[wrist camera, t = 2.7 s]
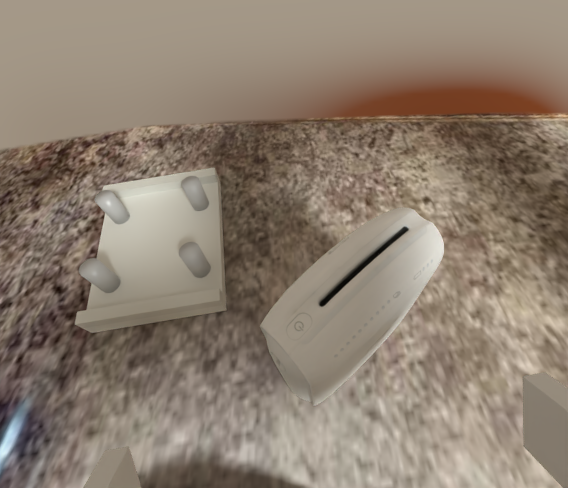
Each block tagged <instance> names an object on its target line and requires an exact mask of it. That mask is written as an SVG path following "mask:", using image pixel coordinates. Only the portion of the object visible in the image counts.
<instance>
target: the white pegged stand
mask: <svg viewBox="0 0 568 488" xmlns="http://www.w3.org/2000/svg"><path fill="white" fill-rule="evenodd" d="M95 202H96V203H97V204H98V205H99V206H100V208H101V209H102V210H103V211H104V212H105V217H104V222H103V227H102V232H101V238H100V243H99V248H98V253H97V258H90V259H88V260H86V261H84V262H83V263H82V264H81V266H80V268H79V274H80V275H81V276H83V277H84V278H85V279H87V280H88V281H89V282H91V283H92V284H91V289H90V294H89V299H88V304H87V310H85V311H79V312H77V316H76V320H75V325H77V326H79V327H81V328H83V329H85V330H87V331H89V332H91V333H95V332H101V331H107V330H113V329H119V328H125V327H131V326H137V325H143V324H149V323H155V322H161V321H167V320H173V319H179V318H185V317H191V316H197V315H203V314H209V313H215V312H221V311H227V307H226V286H225V265H224V245H223V224H222V203H221V183H220V180H219V177H218V175H217V172H216V169H215V167H214V168H208V169H202V170H196V171H190V172H184V173H178V174H172V175H166V176H160V177H154V178H148V179H142V180H136V181H130V182H124V183H118V184H112V185H106V186H104V187H103V191H101V192H99V193H98V194H97V195H96V197H95Z"/></svg>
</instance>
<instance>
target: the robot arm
mask: <svg viewBox="0 0 568 488" xmlns="http://www.w3.org/2000/svg"><path fill="white" fill-rule="evenodd" d="M523 438H524V447H525V448H526V449H527V450H528V451H529V452H530V453H531V455H532V456H533V457H534V458H535V459H536V460H537V461H538V462H539V463H540V464H541V465H542V466H543V467H544V468H545V469H546V470H547V471H548V472H549V473H550V474H551V475H552V476H553V478H554V479H555V480H556V481H557V482H558V483H559V484H560V485H561V486H562V487H563V488H568V388H567V387H566V386H564V385H563V384H561V383H560V382H558V381H557V380H556V379H554V378H553V377H551V376H550V375H548V374H547V373H545V372H544V373H539V374H533V375H527V376H523ZM83 488H141V485H140V482H139V478H138V475H137V472H136V469H135V465H134V462H133V459H132V455H131V452H130V449H129V447H123V448H118V449H112V450H106V451H105V452H104V454H103V455H102V457H101V459H100V460H99V462H98V464H97V465H96V467H95V469H94V471H93V472H92V474H91V476H90V477H89V479H88V481H87V482H86V484H85V486H84V487H83Z"/></svg>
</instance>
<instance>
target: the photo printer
mask: <svg viewBox="0 0 568 488" xmlns="http://www.w3.org/2000/svg"><path fill="white" fill-rule="evenodd" d="M443 254H444V243H443V240H442V237H441V235H440V233H439V231H438V229H437V228H436V227H435V225H434V224H433V223H432V222H430V221H428V220H425V219H424V218H422V217H421V216H420V215H418V214H417V212H416V211H415V210H413V209H410V208H396V209H393V210H390V211H388V212H385V213H383V214H381V215H379V216H377V217H375V218H373V219H372V220H370V221H368V222H366V223H365V224H363V225H362V226H360V227H359V228H357V229H356V230H355V231H353V232H352V233H350V234H349V235H348V236H346V237H345V238H344V239H342V240H341V241H340V242H339V243H337V244H336V245H335V246H334V247H333V248H331V249H330V250H329V251H328V252H327V253H325V254H324V255H323V256H322V257H321V258H319V259H318V260H317V261H316V262H315V263H314V264H313V265H312V266H310V268H308V269H307V270H306V271H305V272H304V273H303V274H302V275H301V276H300V277H299V278H298V279H297V280H296V281H295V282H294V283H293V284H292V285H291V286H290V287H289V288H288V289H287V290H286V291H285V292H284V293H283V295H282V296H281V297H280V298H279V300H278V301H277V302H276V303H275V304H274V306H273V307H272V308H271V310H270V311H269V312H268V314H267V315H266V317H265V318H264V320H263V322H262V323H261V325H260V329H261V330H262V332H263V334H264V336H265V338H266V340H267V346H268V350H269V353H270V355H271V357H272V359H273V361H274V363H275V365H276V366H277V368H278V370H279V372H280V373H281V375H282V377H283V378H284V380H285V382H286V383H287V385H288V387H289V388H290V390H291V391H292V392H293V393H294V394H295V395H296V396H297V397H299V398H301V399H303V400H305V401H310V402H311V403H312V404H313V405H314V406H315V405H317V404H319V403H321V402H322V401H324V400H325V399H327V398H328V397H329V396H330V395H332V394H333V393H334V392H335V391H336V390H337V389H338V388H339V387H340V386H341V385H342V384H343V383H344V382H345V381H346V380H348V379H349V378H350V377H351V376H352V375H353V374H354V373H355V372H356V371H357V370H358V369H359V368H360V367H361V366H362V365H363V364H364V363H365V362H366V361H367V359H368V358H369V357H370V356H371V355H372V354H373V353H374V352H375V351H376V350H377V349H378V348H379V347H380V346H381V345H382V343H383V342H384V341H385V340H386V339H387V338H388V337H389V336H390V334H391V333H392V332H393V331H394V330H395V329H396V328H397V326H398V325H399V324H400V322H401V321H402V320H403V318H404V317H405V315H406V314H407V312H408V311H409V309H410V308H411V307H412V305H413V304H414V302H415V300H416V299H417V297H418V296H419V294H420V293H421V291H422V290H423V288H424V287H425V285H426V284H427V282H428V281H429V279H430V278H431V276H432V275H433V273H434V272H435V270H436V269H437V267H438V265H439V263H440V262H441V260H442V257H443Z"/></svg>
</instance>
